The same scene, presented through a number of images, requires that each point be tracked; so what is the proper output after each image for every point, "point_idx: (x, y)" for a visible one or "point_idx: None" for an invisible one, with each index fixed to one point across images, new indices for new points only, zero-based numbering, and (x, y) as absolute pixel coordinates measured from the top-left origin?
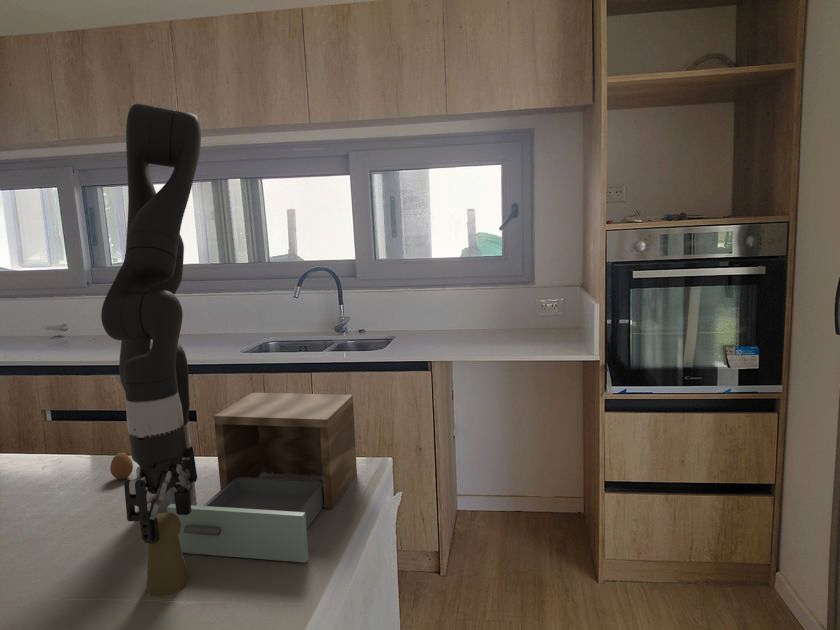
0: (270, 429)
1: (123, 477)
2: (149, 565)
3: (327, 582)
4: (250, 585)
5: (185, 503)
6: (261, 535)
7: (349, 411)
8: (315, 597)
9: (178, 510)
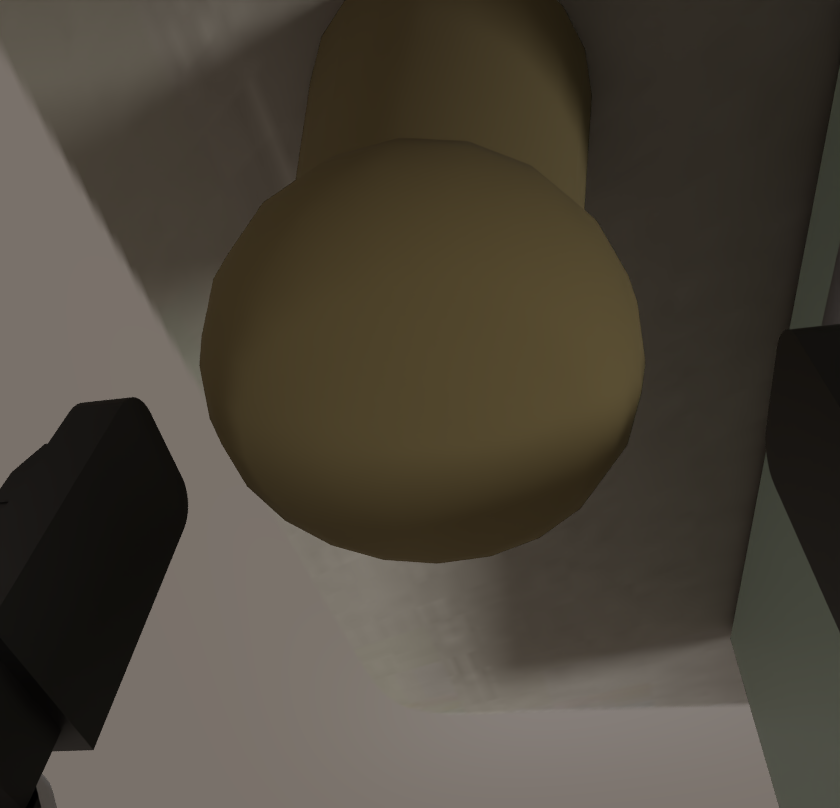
0: None
1: None
2: (305, 135)
3: (609, 706)
4: None
5: (816, 553)
6: (802, 613)
7: None
8: (516, 701)
9: (795, 383)
